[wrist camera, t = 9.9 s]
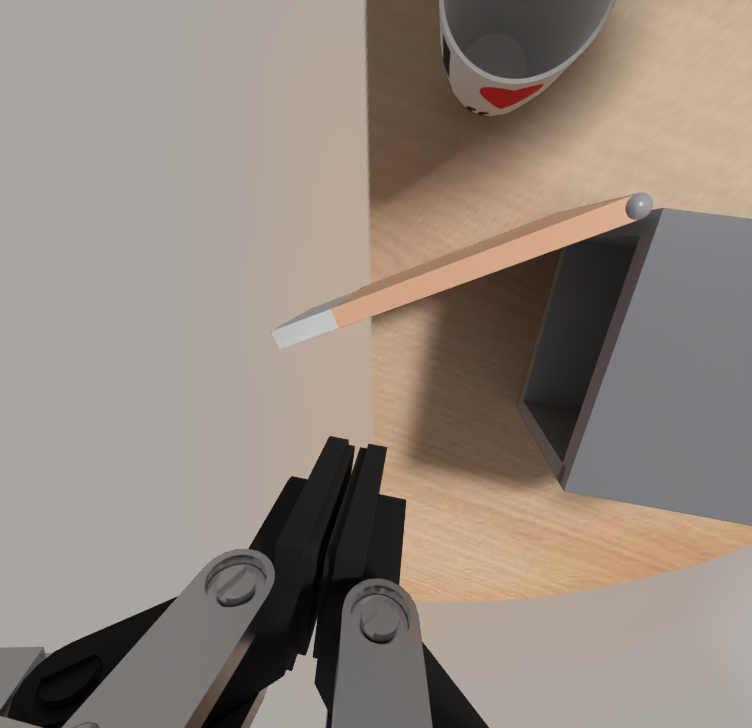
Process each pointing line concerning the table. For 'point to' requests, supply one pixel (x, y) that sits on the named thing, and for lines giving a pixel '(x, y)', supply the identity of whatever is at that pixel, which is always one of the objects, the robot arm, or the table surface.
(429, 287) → the door
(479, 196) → the table surface
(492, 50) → the cup
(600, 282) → the grey smooth box
